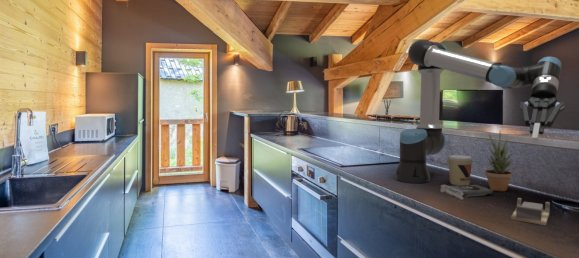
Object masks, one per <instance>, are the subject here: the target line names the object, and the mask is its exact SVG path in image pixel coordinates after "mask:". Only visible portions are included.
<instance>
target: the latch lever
mask: <svg viewBox="0 0 579 258" xmlns="http://www.w3.org/2000/svg"><path fill="white" fill-rule="evenodd" d="M521 207H528V208H534V209H541V210H544V205H543V203H538V202H531V201H523V202H522V203H521Z"/></svg>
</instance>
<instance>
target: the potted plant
mask: <svg viewBox="0 0 579 258" xmlns="http://www.w3.org/2000/svg"><path fill="white" fill-rule="evenodd" d="M501 135H502V133H501V131H499V134H498V136H499V137H498V143H496V142H495V141H494V140H493V138H492V136H491V134H490V133H488V137H489V139H490V143H491V145H492V147H493V150H494V151H493V150H492V149H491V148H490V146H488V149H489V151H490V153H491V154H490V156H489V158H487V160H488V161H489V165H490V166H491V167H492V169H487V170H484V171H485V172H484V175H485V176H486V178H487V182H488V186H489V189H493V191H497V192H506V191H507V190H508V187H509V184H510V182H511V179H512V178H513V172H512V171H510V169H508V168H509V167H510V166H511V164H512V163H513V162H514V161H513V159H510V158H511V156H512V155H513V153H511V154H510V155H508V156H507V153H508V151H509V146H507V145H508V139H506V140H505V142H504V144H503V147H502V144H501V143H502V142H501V140H502V139H501V137H502V136H501ZM490 159H491V160H490ZM506 169H507V170H506Z"/></svg>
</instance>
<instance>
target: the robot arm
mask: <svg viewBox="0 0 579 258" xmlns="http://www.w3.org/2000/svg"><path fill="white" fill-rule="evenodd" d="M407 54H408V55H407V57H408V59H409V61H410V62H411V63H412V64H414V65H416V66H417V72H418V73H419V74H420V101H419V102H420V104H419V105H420V107H419V108H420V109H419V123H418V125H416V128H410V129H404V130H402V131H401V132H400V134H399V163H398V167H397V169H396V171H395V180H397V181H398V182H404V183H409V184H410V183H411V184H424V183H429V182H430V181H431V175H430V171H429V169H428V166H427V156H432V155H433V156H434V155H435V154H439V153H440V152H442V151H443V150H444V148H445V146H446V143H447V140H446V138H447V137H446V135H445V134H444V133H443V127H442V126H441V125H440V100H441V99H440V98H441V74H442V73H443V72H444V71H445V70H446V71H449V72H453V73H456V74H460V75H463V76H467V77H470V78H473V79H476V80H479V81H482V82H483V81H484V82H486V83H490V84H492V85H494V86H496V87H500V88H502V89H503V90H515V89H517V88H524V87H528V86H529V87H530V86H532V87H531V90H530V91H531V92H530V96H529V98H528V99H527V100H526V101H525V102H524V101H520V102H519V107H520V109H521V110H522V113H523V118H524V125H525V126H526V127H529V134H532V135H531V143H532V144H538V143H539V138H540V135H544V132H545V128H546V127H548V128H551V127H553V125H554V123H555V121H556V120H557V118H558V116H559V115H560V113H561V112H562V111H563V110H565V102H564V101H561V102H558V99H557V96H558V90H559V84H560V78H561V73H562V62H561V60H560V59H559V58H557V57H555V56H544V57H543V58H541V59H539V60H538V62H537V64H533V65H529V66H524V67H513V66H508V65H505V64H501V63H496V62H492V61H488V60H485V59H481V58H477V57H473V56H469V55H466V54H463V53H462V54H461V53H456V52H455V51H454V52H453V51H449V50H448V48H447V47H446V46H445V45H444V44H442V43H440V42H436V41H430V40H426V39H420V40H417V41H414V42H413V43H412V44H411V45H410V46H409V48H408V52H407ZM529 107H530V108H531V109H532V115H531V120H530V116H529V112H528V108H529ZM551 109H553V110H552V112H551V113H550V115H549V117H548V119H547V116H548V112H549V110H551ZM540 111H541V114H540V115H541V117H540V120H539V122H537V121H538V115H539V112H540Z"/></svg>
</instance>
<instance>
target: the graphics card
mask: <svg viewBox="0 0 579 258" xmlns="http://www.w3.org/2000/svg"><path fill="white" fill-rule="evenodd" d="M493 191H494V190H493V189H490V188H488V187H486V186H482V185H481V186H480V185H479V184H469V185H446V184H441V185H440V193H444V194H446V195H448V196H452V198H455V199H459V200H464V199H465V198H468V197H469V198H470V197H482V196H483V197H484V196H486V195H488V194H493Z"/></svg>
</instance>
